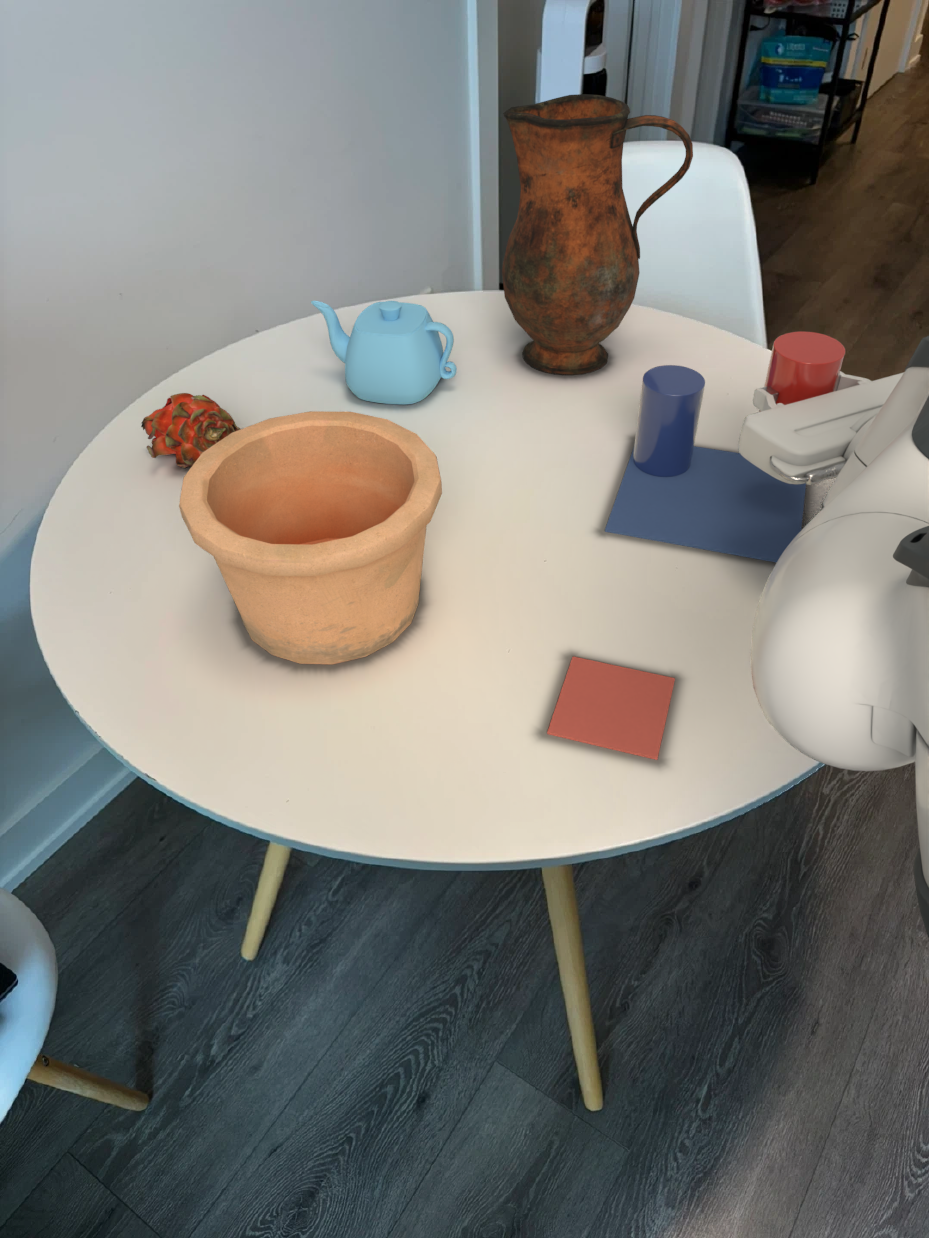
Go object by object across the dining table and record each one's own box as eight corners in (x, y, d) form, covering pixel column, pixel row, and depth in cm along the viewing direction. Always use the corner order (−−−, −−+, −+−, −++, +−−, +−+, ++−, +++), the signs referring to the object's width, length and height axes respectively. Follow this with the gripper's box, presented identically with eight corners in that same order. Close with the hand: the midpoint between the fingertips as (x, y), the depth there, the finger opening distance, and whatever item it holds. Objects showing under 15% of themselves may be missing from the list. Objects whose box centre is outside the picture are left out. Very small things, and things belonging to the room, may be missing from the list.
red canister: (821, 428, 94) (846, 335, 87) (818, 462, 89) (844, 367, 82) (756, 419, 95) (776, 327, 88) (750, 452, 91) (770, 358, 84)
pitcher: (512, 324, 129) (516, 82, 108) (667, 337, 125) (702, 89, 104) (488, 383, 117) (488, 124, 96) (658, 399, 113) (696, 134, 93)
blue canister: (694, 450, 104) (709, 369, 97) (686, 481, 100) (700, 399, 93) (638, 441, 106) (648, 361, 99) (627, 472, 101) (637, 390, 95)
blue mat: (807, 466, 102) (808, 463, 102) (796, 567, 90) (797, 564, 90) (636, 440, 107) (637, 437, 106) (604, 532, 94) (604, 529, 94)
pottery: (175, 592, 89) (135, 467, 79) (366, 506, 99) (352, 385, 89) (285, 728, 76) (255, 599, 67) (493, 614, 86) (493, 487, 76)
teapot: (327, 276, 116) (466, 287, 113) (337, 354, 123) (468, 367, 120) (291, 320, 107) (441, 334, 104) (304, 402, 114) (444, 417, 111)
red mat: (674, 681, 79) (675, 677, 79) (657, 761, 73) (657, 757, 73) (572, 659, 82) (572, 655, 81) (546, 734, 75) (547, 731, 75)
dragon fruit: (247, 484, 105) (162, 478, 109) (264, 414, 106) (180, 411, 110) (203, 455, 97) (113, 450, 101) (222, 380, 98) (132, 378, 103)
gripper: (788, 518, 79) (697, 438, 88) (971, 460, 85) (867, 391, 94) (805, 455, 75) (707, 379, 84) (997, 399, 80) (885, 333, 90)
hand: (793, 385), depth 89 cm, fingers closed on red canister, 6 cm apart
